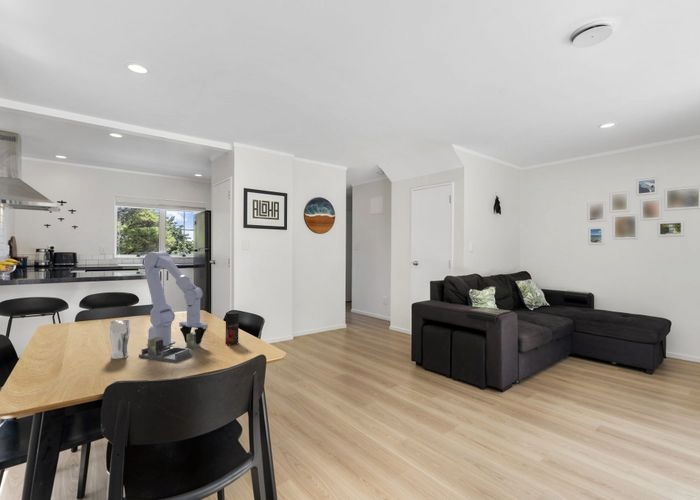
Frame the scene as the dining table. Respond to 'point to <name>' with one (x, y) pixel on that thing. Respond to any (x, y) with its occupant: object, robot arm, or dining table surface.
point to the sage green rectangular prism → (191, 340)
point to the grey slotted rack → (164, 351)
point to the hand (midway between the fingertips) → (193, 342)
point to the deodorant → (232, 328)
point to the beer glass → (119, 338)
